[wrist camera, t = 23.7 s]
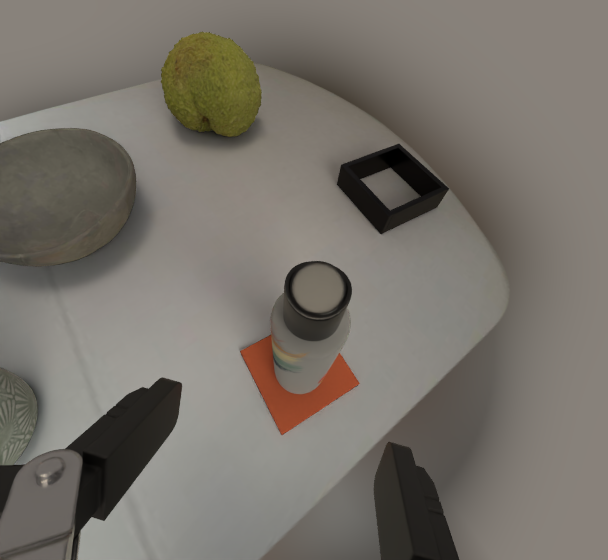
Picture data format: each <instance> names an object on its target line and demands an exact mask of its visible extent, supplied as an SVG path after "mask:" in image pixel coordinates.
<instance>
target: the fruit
mask: <svg viewBox="0 0 608 560" xmlns="http://www.w3.org/2000/svg"><path fill="white" fill-rule="evenodd" d="M255 68H256V67H255V66H254V64H253V61H251V59H250V58H248V56H247V55H246V54H245V53H244V52H243V50H242V49H241V48H240V46H238V45H237V44H236V43H235V42H234V41H233V40H231V39H230V38H228V39H227V38H224V37H221V36H219V35H218V36H216V35H215V34H211V33H210V32H209V33H207V32H206V33H204V32H200V33H198V34H192V35H189V36H188V37H185V38H181V40H179V42H178V43H177V44H175V45H174V49H173V50H172V51H170V52H169V55H168V57H167V60H166V61H165V64H164V67H162V69H161V71H162V74H161V77H162V80H161V83H162V88H163V90H164V94H165V95H164V98H165V103H166V104H167V106H168V109H170V110H171V113H172V114H173V115H174V116H175V117H176V119H178V120H179V121H180V122H181V124H183V125H184V126H185V127H186V128H189V129H191V130H198V131H199V132H201V131H202V132H204V131H212V130H213V131H215V132H216V133H217V134H222V136H228V137H232V136H239V135H240V134H241V133H242V132H246V130H247V129H248V128H249V127H250V126H251V124H252V123H253V122H254V120H255V116H256V115H257V113H258V109H259V107H260V105H261V98H262V97H261V93H262V92H261V89H260V84H259V76H258V75H257V74H256V69H255Z"/></svg>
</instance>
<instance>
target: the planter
mask: <svg viewBox="0 0 608 560" xmlns="http://www.w3.org/2000/svg"><path fill="white" fill-rule="evenodd" d="M37 413H38V412H37V401H36V397H35V395H34V393H33V391H32V389H31V388H30V386H29V385H28V384H27V383H26V382H25V381H24V380H22V379H21V378H20V377H18V376H17V375H15V374H13V373H11V372H9V371H7V370H5V369H3V368H0V465H13V464H14V463H15V462H16V461H17V459H18V458H19V457H20V455H21V454H22V453H23V451H24V450H25V448H26V446H27V445H28V443H29V441H30V439H31V437H32V434H33V432H34V428H35V425H36V421H37Z"/></svg>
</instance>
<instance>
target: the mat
mask: <svg viewBox="0 0 608 560" xmlns="http://www.w3.org/2000/svg"><path fill="white" fill-rule="evenodd" d="M240 352H241V354H242V356H243V358H244V360H245V362H246V364H247V366H248V368H249V370H250V372H251V374H252V376H253V378H254V380H255V382H256V384H257V386H258V388H259V390H260V392H261V394H262V396H263V398H264V400H265V402H266V404H267V406H268V408H269V410H270V413H271V415H272V417H273V419H274V421H275V423H276V425H277V427H278V429H279V431H280V433H281V435H283V434H284V433H286V432H287V431H289V430H290V429H292V428H293V427H295V426H296V425H298V424H299V423H301V422H302V421H304V420H305V419H307V418H308V417H310V416H312V415H313V414H315V413H316V412H318V411H319V410H321V409H322V408H324V407H325V406H327V405H328V404H330V403H331V402H333V401H334V400H336V399H337V398H339V397H340V396H342V395H343V394H345V393H346V392H348V391H349V390H351V389H352V388H354V387H355V386H357V385H358V384H359V382H358V380H357V379H356V377H355V376H354V374H353V373H352V371H351V370H350V368H349V367H348V365H347V364H346V362H345V361H344V359H343V357H342V356H341V354H340V353H339V354H338V356H337V357H336V359H335V360H334V362H333V364H332V365H331V367H330V369H329V370H328V372H327V374H326V375H325V377H324V379H323V380H322V382H321V383H320V384H319V385H318V387H317V388H315V389H314V390H312V391H311V392H308V393H305V394H294V393H291V392H289V391H287V390H285V389H284V388H283V387H282V386H281V385H280V384H279V382H278V380H277V378H276V375H275V371H274V361H273V349H272V338H271V335H270V336H268V337H266V338H264V339H262V340H260V341H259V342H257V343H255V344H253V345H251V346H249V347H247V348H245V349H244V350H242V351H240Z"/></svg>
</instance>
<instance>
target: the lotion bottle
mask: <svg viewBox="0 0 608 560" xmlns="http://www.w3.org/2000/svg"><path fill="white" fill-rule="evenodd" d="M351 294H352V287H351V283H350V280H349V279H348V277H347V276H346V274H345V273H344V272H343V271H341V270H340V269H338V268H337V267H335V266H333V265H331V264H329V263H326V262H322V261H311V262H304V263H301V264H299V265H297V266H295V267H294V268H292V269H291V270H290V272H289V273H288V275H287V277H286V280H285V285H284V293H283V294H282V295H281V296H280V297H279V298H278V299H277V301H276V303H275V304H274V307H273V309H272V313H271V338H272V349H273V361H274V371H275V375H276V378H277V380H278V382H279V384H280V385H281V386H282V387H283V388H284V389H285V390H287V391H289V392H291V393H294V394H305V393H308V392H311V391H312V390H314V389H315V388H317V387H318V385H319V384H320V383H321V382H322V380H323V379H324V377H325V375H326V374H327V372H328V370H329V369H330V367H331V365H332V364H333V362H334V360H335V359H336V357H337V356H338V354H339V352H340V351H341V349H342V347H343V345H344V344H345V342H346V340H347V338H348V335H349V332H350V323H351V322H350V314H349V311H348V308H347V306H348V304H349V301H350V298H351Z"/></svg>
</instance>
